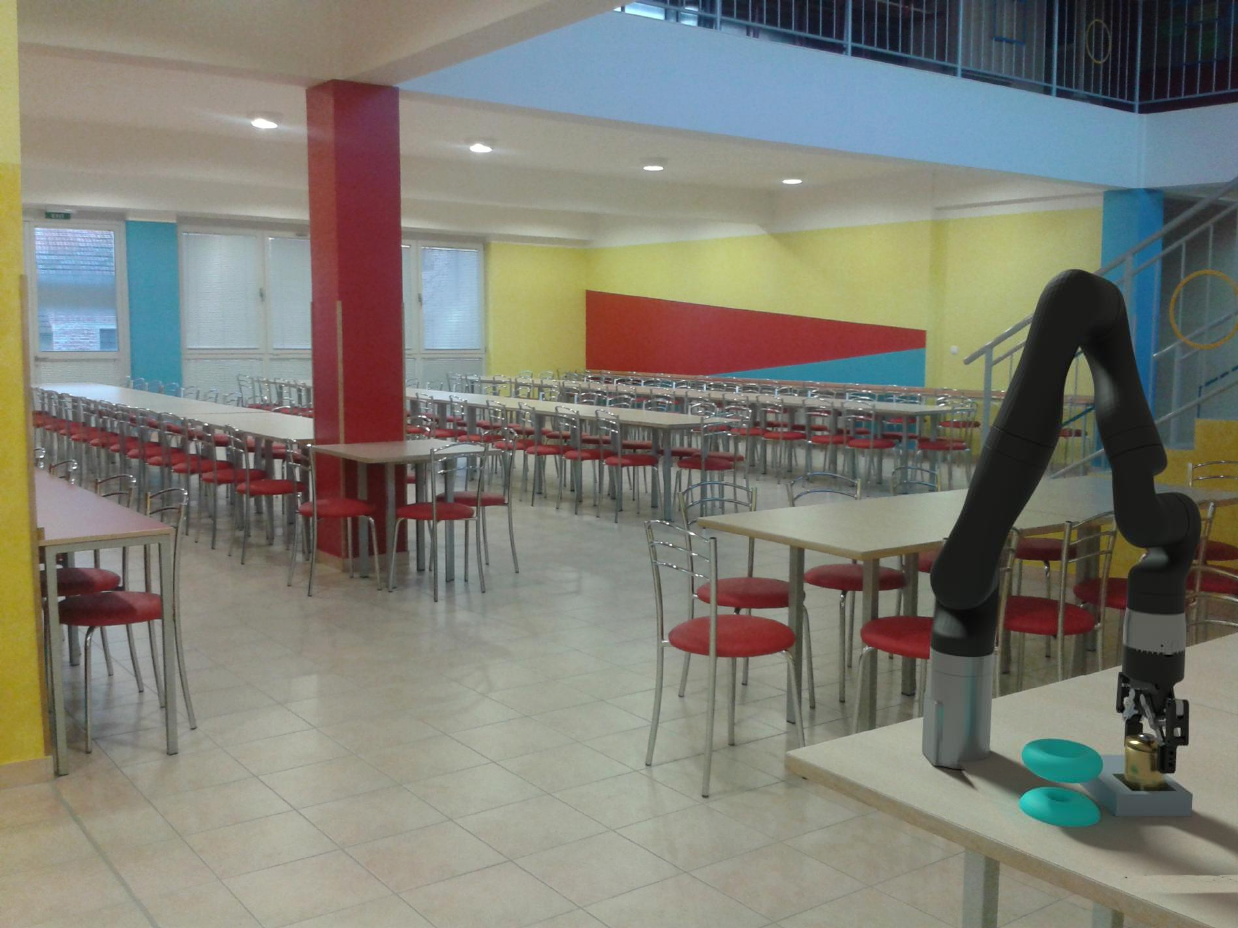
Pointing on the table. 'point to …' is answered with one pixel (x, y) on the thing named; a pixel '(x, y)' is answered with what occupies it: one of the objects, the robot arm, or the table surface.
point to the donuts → (1062, 766)
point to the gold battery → (1142, 764)
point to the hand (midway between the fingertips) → (1149, 760)
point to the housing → (1137, 794)
